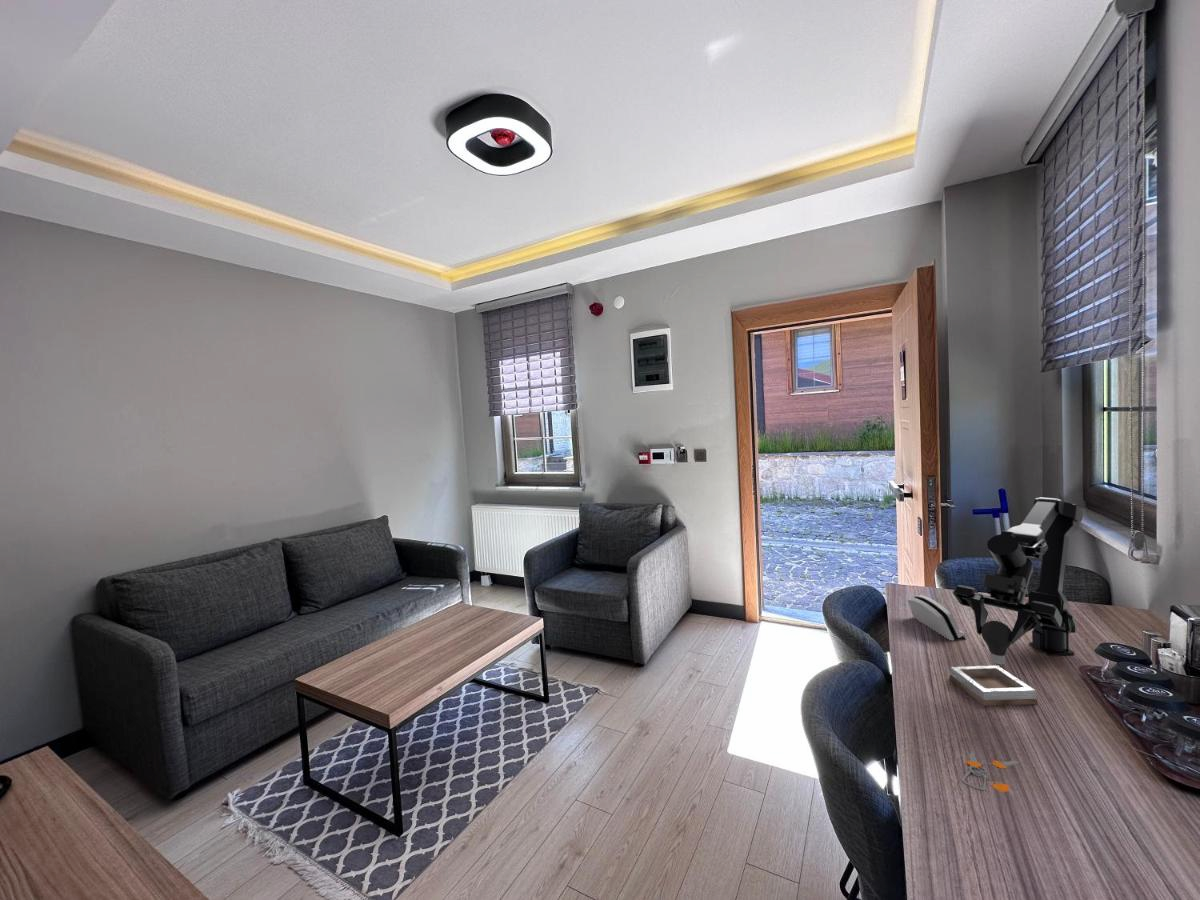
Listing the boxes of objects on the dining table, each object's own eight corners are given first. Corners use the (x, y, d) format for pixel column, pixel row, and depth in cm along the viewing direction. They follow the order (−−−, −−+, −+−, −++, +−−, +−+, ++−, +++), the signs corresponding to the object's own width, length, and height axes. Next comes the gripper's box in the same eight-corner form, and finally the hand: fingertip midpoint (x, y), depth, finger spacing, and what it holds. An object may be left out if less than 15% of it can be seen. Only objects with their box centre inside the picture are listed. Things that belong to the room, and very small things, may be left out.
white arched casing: (968, 639, 135) (955, 607, 135) (952, 646, 136) (939, 614, 135) (928, 616, 152) (917, 587, 152) (914, 622, 152) (902, 593, 152)
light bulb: (997, 672, 107) (996, 628, 106) (975, 660, 112) (974, 618, 112) (1021, 669, 107) (1019, 625, 107) (998, 657, 113) (996, 615, 112)
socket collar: (997, 673, 116) (997, 665, 116) (1035, 699, 105) (1035, 690, 105) (950, 675, 117) (950, 667, 117) (983, 700, 106) (983, 691, 106)
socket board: (998, 677, 116) (997, 673, 116) (1037, 704, 105) (1037, 699, 105) (949, 678, 117) (949, 674, 117) (983, 705, 106) (983, 701, 106)
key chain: (1007, 804, 80) (1007, 799, 80) (954, 781, 86) (953, 776, 86) (1022, 765, 88) (1021, 760, 88) (972, 746, 94) (972, 742, 94)
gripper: (955, 552, 118) (934, 608, 113) (1056, 568, 102) (1037, 634, 97) (970, 576, 123) (951, 631, 118) (1069, 595, 107) (1052, 660, 102)
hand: (994, 638), depth 109 cm, fingers closed on light bulb, 6 cm apart
